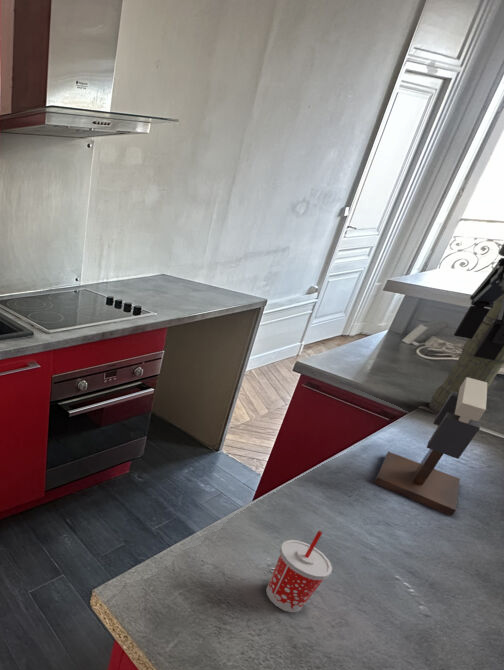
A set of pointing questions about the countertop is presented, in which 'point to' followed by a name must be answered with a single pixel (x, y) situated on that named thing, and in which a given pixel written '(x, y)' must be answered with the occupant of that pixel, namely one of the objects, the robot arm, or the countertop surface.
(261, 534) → the countertop surface
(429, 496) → the headphone stand
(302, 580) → the beverage cup
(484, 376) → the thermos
